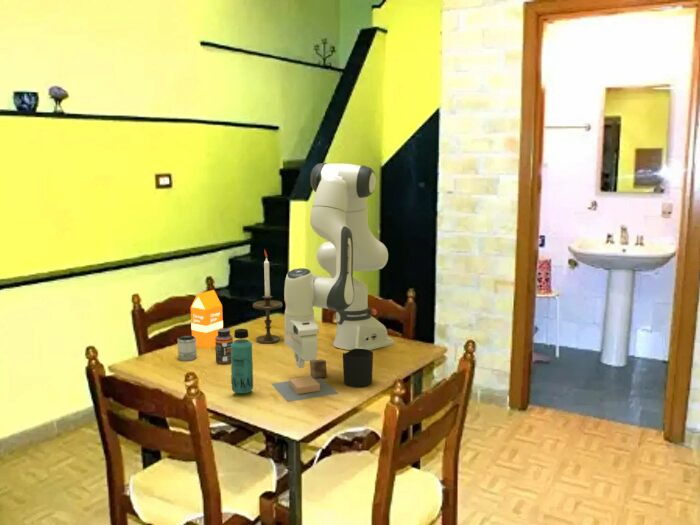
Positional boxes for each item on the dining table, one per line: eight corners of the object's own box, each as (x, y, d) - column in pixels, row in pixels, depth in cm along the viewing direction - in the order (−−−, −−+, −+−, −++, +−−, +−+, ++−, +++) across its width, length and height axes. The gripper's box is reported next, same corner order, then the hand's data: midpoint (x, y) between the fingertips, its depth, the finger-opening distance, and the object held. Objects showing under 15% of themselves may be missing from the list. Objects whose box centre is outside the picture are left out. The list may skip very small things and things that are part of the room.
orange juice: (223, 342, 251) (221, 290, 247) (207, 348, 243) (204, 295, 240) (208, 339, 255) (206, 288, 251) (191, 345, 247) (189, 292, 244)
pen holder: (376, 388, 204) (376, 356, 202) (346, 390, 202) (346, 358, 200) (368, 377, 213) (369, 347, 211) (340, 379, 211) (339, 349, 209)
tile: (310, 375, 207) (319, 384, 200) (310, 382, 207) (319, 391, 200) (289, 379, 204) (297, 387, 197) (289, 385, 205) (297, 394, 197)
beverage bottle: (232, 390, 202) (230, 326, 198) (254, 389, 202) (252, 326, 199) (230, 398, 196) (228, 333, 192) (253, 398, 196) (251, 332, 193)
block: (322, 374, 216) (321, 359, 216) (326, 376, 212) (325, 360, 212) (310, 376, 214) (309, 360, 214) (315, 378, 211) (314, 362, 210)
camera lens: (197, 360, 230) (196, 338, 229) (178, 362, 229) (177, 339, 227) (196, 354, 236) (195, 333, 235) (177, 356, 234) (176, 335, 233)
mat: (319, 377, 213) (319, 376, 213) (338, 394, 198) (338, 393, 198) (271, 384, 207) (271, 383, 206) (287, 403, 192) (287, 401, 192)
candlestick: (260, 346, 246) (258, 252, 240) (249, 339, 255) (247, 248, 249) (287, 341, 251) (285, 250, 245) (275, 334, 260) (273, 246, 254)
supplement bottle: (229, 365, 225) (228, 332, 223) (213, 364, 226) (211, 331, 224) (236, 359, 231) (235, 328, 229) (220, 358, 232) (218, 327, 230)
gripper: (279, 315, 210) (279, 358, 212) (300, 332, 191) (301, 378, 194) (298, 313, 212) (298, 355, 215) (321, 329, 194) (321, 375, 196)
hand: (300, 366), depth 204 cm, fingers closed
